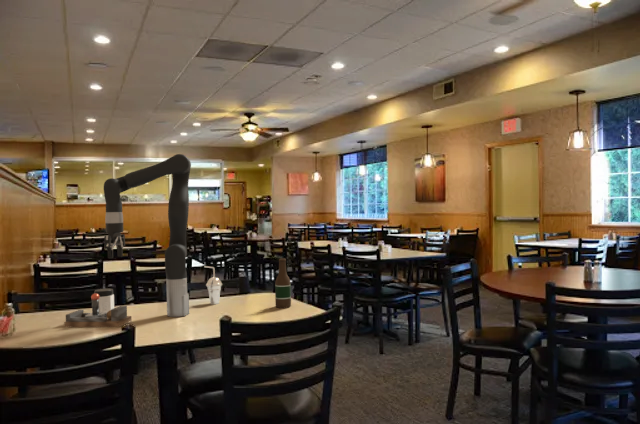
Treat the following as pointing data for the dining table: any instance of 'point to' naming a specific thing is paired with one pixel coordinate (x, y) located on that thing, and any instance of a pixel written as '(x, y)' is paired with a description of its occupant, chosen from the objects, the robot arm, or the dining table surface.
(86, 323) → the bench
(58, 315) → the dining table surface
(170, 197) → the robot arm
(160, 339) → the dining table surface
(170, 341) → the dining table surface
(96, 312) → the red ball joystick
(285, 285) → the beer bottle
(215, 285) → the cup with straw
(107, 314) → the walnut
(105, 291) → the jar
